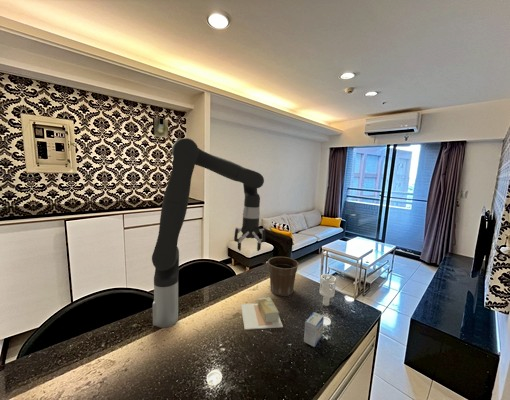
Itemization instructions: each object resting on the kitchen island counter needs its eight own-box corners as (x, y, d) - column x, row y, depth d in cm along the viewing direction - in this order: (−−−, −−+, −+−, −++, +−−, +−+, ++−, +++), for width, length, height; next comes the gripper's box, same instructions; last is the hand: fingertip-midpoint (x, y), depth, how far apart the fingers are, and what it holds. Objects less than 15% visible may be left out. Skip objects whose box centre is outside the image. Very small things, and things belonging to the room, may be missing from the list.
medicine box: (314, 348, 84) (316, 326, 82) (303, 342, 86) (305, 321, 85) (322, 336, 90) (324, 316, 89) (311, 331, 93) (313, 311, 91)
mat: (244, 329, 91) (244, 328, 91) (240, 304, 108) (240, 303, 108) (283, 327, 94) (283, 326, 94) (273, 303, 111) (273, 302, 110)
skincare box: (269, 296, 108) (279, 311, 96) (269, 304, 108) (279, 321, 97) (257, 297, 106) (265, 313, 94) (256, 306, 107) (264, 323, 95)
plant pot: (260, 289, 123) (261, 260, 121) (279, 280, 134) (281, 254, 132) (282, 302, 112) (284, 271, 109) (302, 291, 122) (304, 263, 120)
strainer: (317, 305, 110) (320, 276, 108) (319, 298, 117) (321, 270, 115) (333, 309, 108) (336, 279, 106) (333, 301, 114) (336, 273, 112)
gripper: (235, 217, 99) (233, 253, 101) (268, 218, 101) (265, 253, 103) (235, 214, 106) (233, 247, 108) (265, 215, 108) (262, 247, 110)
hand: (248, 250), depth 105 cm, fingers open, 8 cm apart
